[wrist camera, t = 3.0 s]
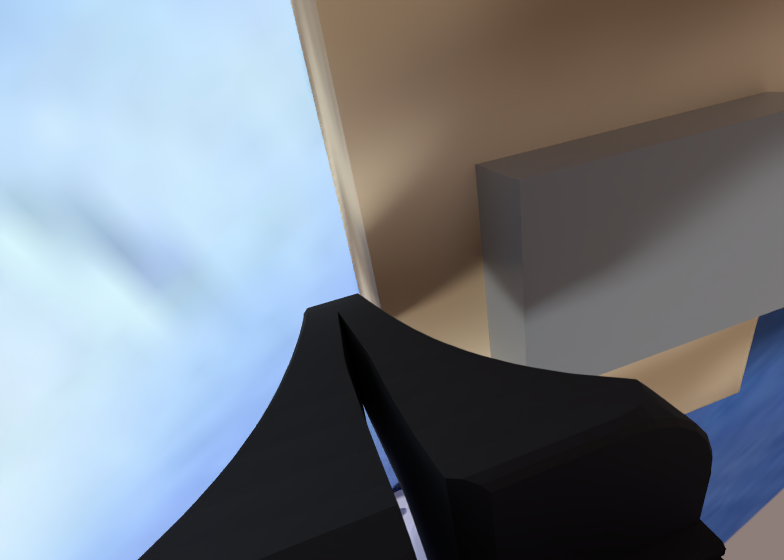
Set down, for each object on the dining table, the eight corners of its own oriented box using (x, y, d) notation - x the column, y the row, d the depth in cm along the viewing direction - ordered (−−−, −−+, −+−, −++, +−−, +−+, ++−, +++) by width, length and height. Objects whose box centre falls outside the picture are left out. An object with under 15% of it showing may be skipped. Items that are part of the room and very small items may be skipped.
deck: (659, 341, 21) (738, 392, 18) (393, 438, 19) (425, 518, 15) (725, -133, 13) (895, -211, 10) (272, -75, 11) (282, -154, 7)
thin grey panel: (726, 278, 15) (790, 305, 13) (491, 359, 13) (527, 401, 11) (766, 91, 12) (853, 92, 10) (475, 164, 10) (519, 180, 9)
